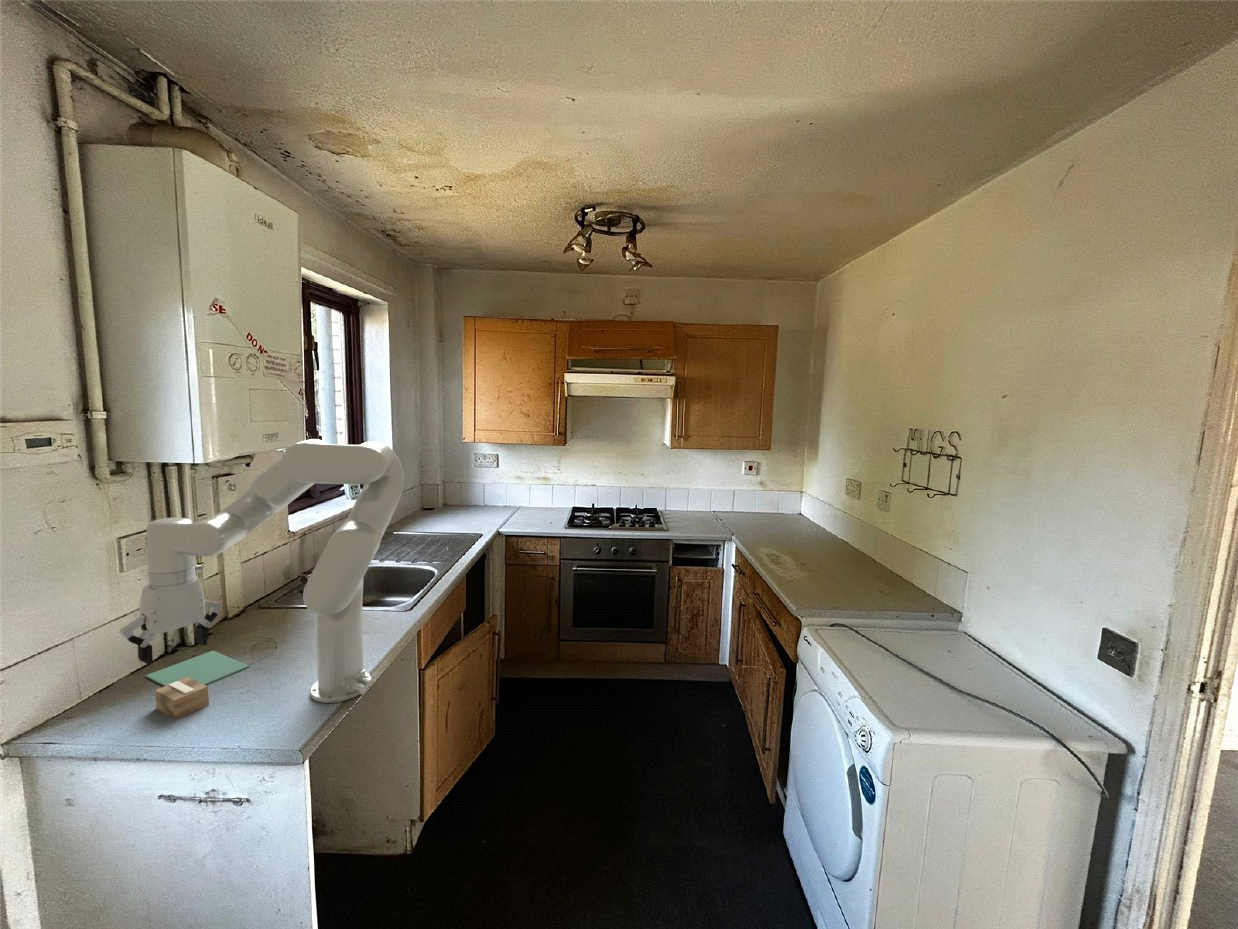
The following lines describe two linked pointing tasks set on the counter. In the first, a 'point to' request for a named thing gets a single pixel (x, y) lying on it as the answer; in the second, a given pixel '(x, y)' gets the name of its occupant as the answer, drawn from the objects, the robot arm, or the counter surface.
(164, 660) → the counter surface
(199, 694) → the cardboard box
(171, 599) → the robot arm
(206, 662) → the play mat
